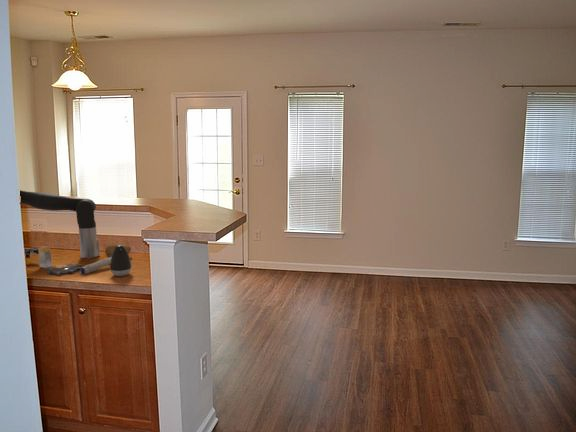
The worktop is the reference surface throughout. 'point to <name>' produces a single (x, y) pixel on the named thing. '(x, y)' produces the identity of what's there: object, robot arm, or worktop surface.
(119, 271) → the black egg-shaped piece
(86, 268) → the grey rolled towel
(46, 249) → the grey translucent cylinder
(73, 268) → the sprocket
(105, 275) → the worktop surface
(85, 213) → the robot arm
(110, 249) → the potato
